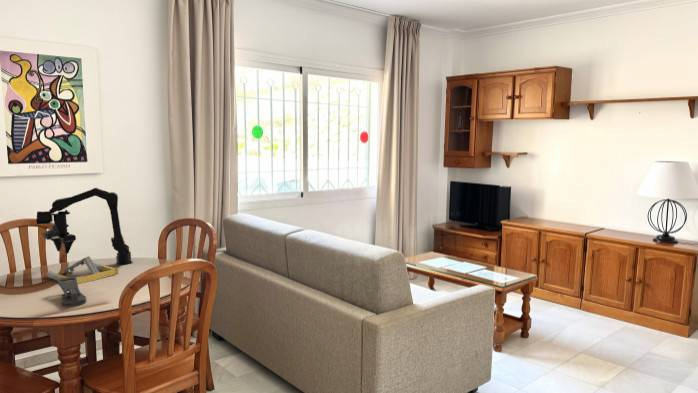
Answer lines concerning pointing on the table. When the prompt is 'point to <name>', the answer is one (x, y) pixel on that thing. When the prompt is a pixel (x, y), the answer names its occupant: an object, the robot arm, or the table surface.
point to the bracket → (82, 264)
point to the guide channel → (108, 272)
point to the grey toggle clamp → (71, 292)
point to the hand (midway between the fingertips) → (62, 252)
